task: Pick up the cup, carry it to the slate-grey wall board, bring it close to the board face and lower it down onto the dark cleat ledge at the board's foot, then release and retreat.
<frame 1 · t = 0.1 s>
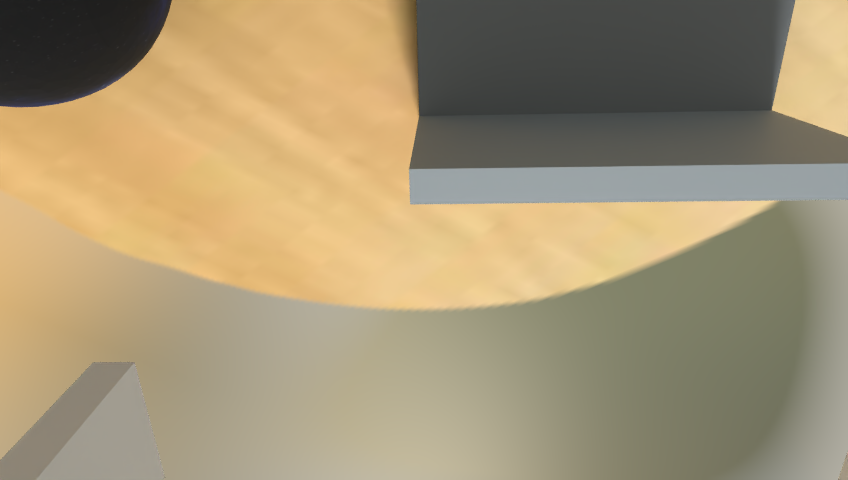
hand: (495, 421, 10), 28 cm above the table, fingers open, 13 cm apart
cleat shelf: (584, 66, 35), on the table
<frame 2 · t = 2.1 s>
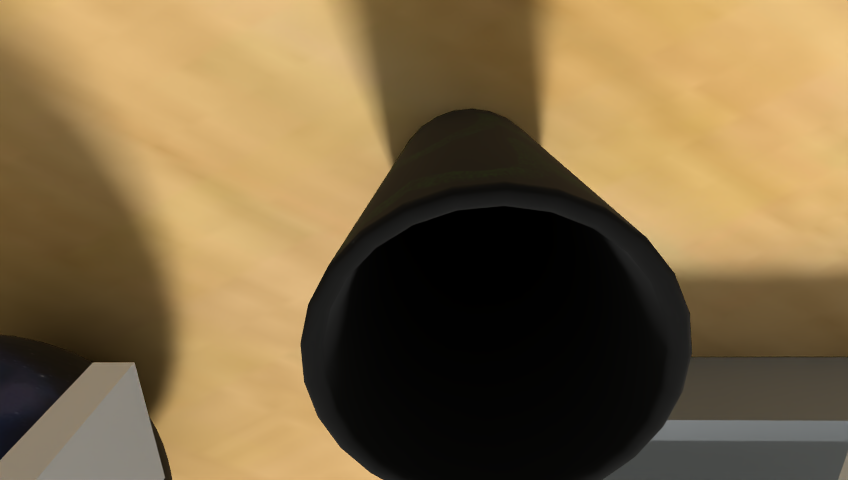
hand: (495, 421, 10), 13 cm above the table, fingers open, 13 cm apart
cup: (468, 179, 22), on the table
decorative sphere: (71, 402, 28), on the table
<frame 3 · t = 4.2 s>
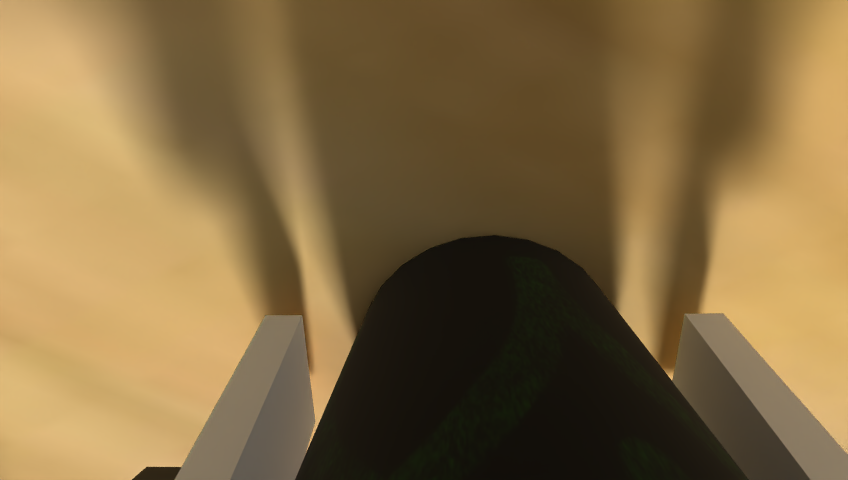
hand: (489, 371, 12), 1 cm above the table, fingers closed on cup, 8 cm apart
cup: (486, 347, 13), on the table, touching gripper
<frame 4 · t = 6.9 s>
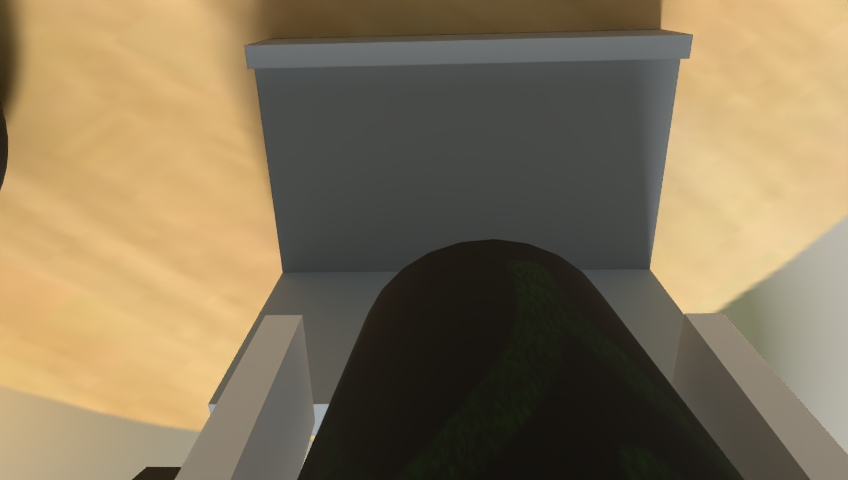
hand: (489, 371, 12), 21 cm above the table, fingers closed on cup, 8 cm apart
cup: (486, 350, 13), point 20 cm above the table, touching gripper
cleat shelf: (462, 212, 33), on the table
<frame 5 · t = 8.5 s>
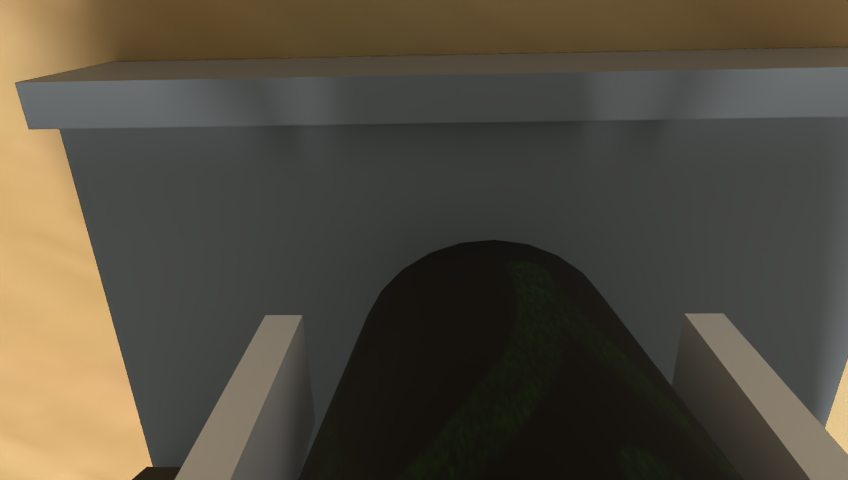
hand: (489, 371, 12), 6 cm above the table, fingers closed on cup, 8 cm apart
cup: (486, 350, 13), point 6 cm above the table, touching gripper
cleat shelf: (471, 355, 19), on the table
when the fingers open (5 cm above the table, at t = 9.6 s): cup stays where it is, resting on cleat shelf.
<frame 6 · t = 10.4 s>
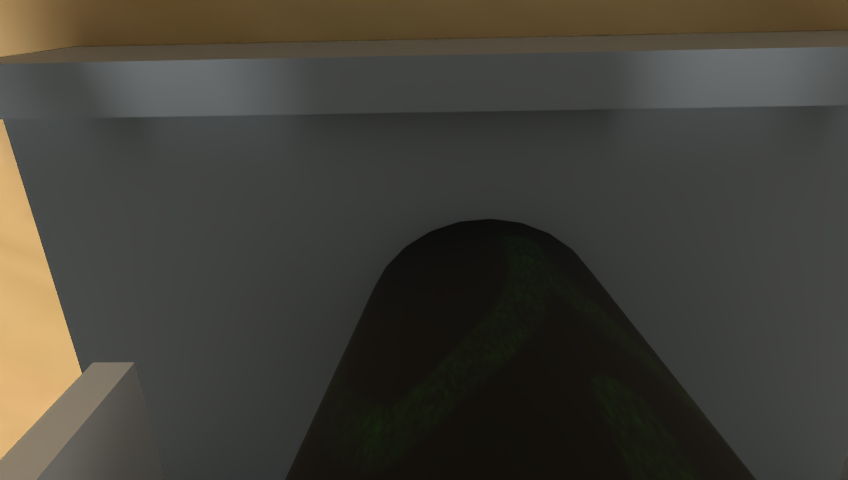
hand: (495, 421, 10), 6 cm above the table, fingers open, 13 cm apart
cup: (483, 324, 14), point 3 cm above the table, touching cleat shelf
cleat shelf: (475, 373, 18), on the table
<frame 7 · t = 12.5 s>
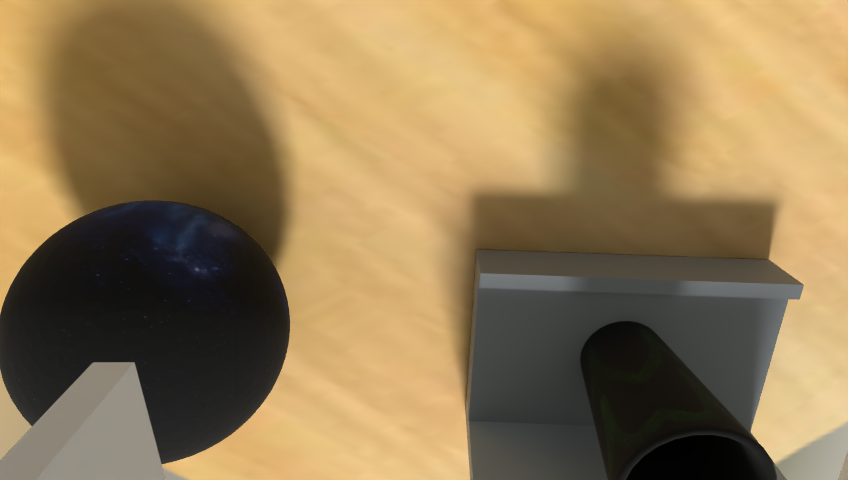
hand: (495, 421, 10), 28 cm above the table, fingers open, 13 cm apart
cup: (620, 355, 39), point 3 cm above the table, touching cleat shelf
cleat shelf: (602, 375, 43), on the table
decorative sphere: (206, 274, 41), on the table
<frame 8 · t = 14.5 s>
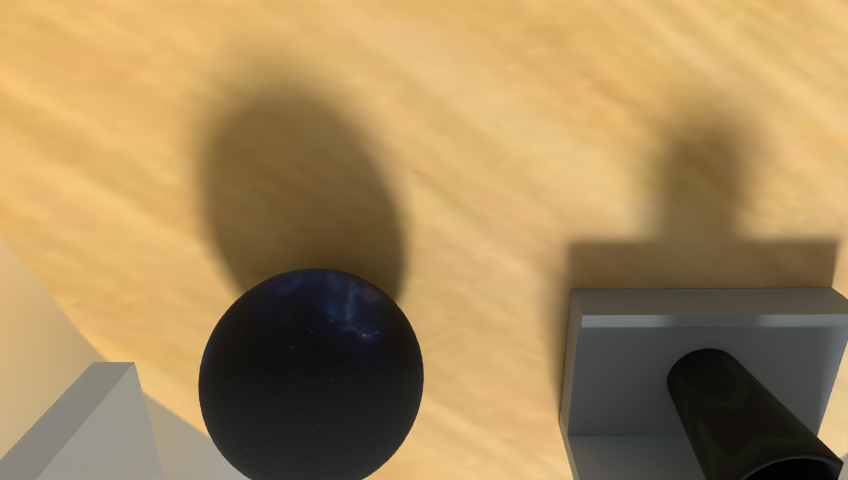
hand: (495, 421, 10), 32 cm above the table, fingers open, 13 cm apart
cup: (702, 376, 44), point 3 cm above the table, touching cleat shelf
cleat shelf: (681, 390, 48), on the table
decorative sphere: (334, 318, 47), on the table
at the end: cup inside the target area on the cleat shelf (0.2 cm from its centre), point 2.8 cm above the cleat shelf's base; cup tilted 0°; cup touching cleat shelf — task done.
